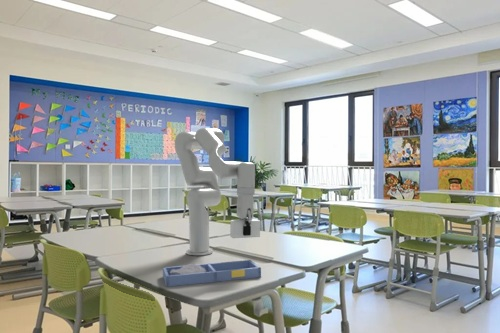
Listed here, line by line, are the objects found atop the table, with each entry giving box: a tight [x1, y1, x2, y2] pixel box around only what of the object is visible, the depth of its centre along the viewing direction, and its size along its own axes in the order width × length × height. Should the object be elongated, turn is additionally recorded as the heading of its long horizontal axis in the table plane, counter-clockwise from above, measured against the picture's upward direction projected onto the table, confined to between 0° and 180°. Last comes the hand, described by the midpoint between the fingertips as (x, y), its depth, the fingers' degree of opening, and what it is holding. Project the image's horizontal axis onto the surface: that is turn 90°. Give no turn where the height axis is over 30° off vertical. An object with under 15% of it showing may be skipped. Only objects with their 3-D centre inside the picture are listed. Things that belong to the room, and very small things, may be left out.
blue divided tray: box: [162, 259, 262, 287], centre depth 146 cm, size 13×35×4 cm, turn 108°
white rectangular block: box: [229, 218, 261, 239], centre depth 165 cm, size 4×12×7 cm, turn 108°
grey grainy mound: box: [169, 263, 206, 276], centre depth 144 cm, size 12×5×10 cm
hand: (245, 233), depth 165 cm, fingers closed on white rectangular block, 4 cm apart
